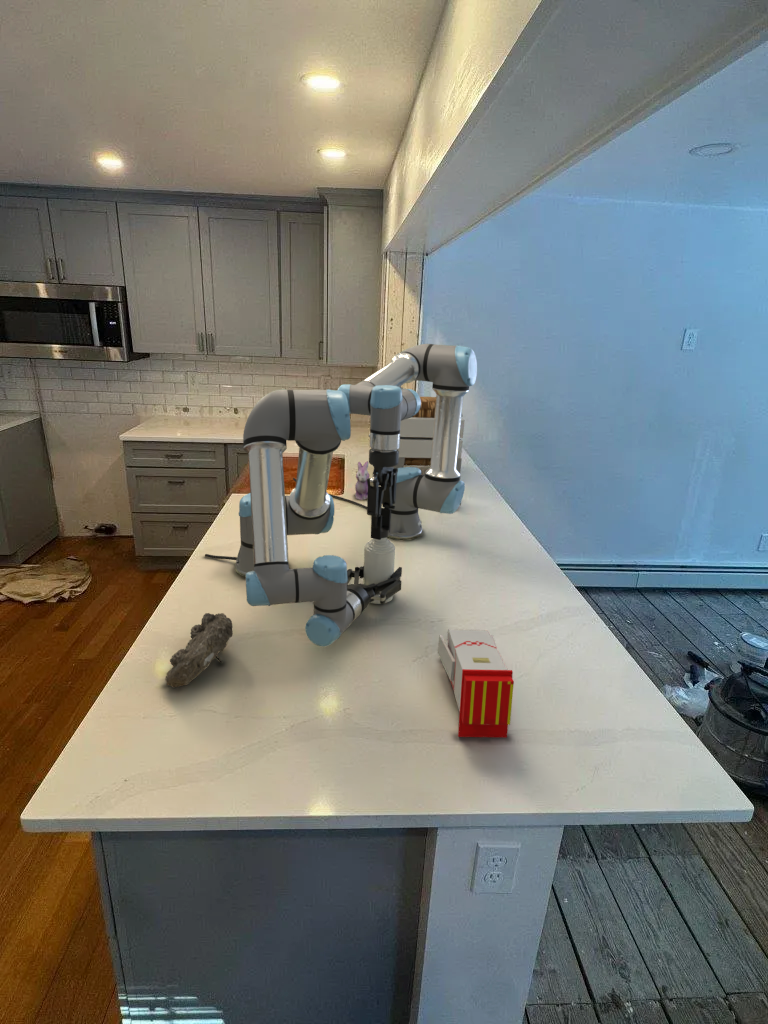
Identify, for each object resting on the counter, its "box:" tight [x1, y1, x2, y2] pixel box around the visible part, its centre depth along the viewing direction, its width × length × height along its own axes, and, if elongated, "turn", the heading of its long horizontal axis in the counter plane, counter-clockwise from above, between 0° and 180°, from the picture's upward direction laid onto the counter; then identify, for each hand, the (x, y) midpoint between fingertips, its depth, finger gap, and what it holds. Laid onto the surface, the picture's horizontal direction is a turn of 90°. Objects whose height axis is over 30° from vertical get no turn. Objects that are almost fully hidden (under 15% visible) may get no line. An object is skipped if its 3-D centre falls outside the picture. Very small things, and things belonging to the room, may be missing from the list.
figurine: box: [354, 460, 370, 501], centre depth 234 cm, size 9×10×15 cm
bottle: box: [362, 537, 396, 605], centre depth 153 cm, size 8×8×20 cm
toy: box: [437, 628, 515, 738], centre depth 117 cm, size 12×13×30 cm
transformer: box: [393, 386, 465, 475], centre depth 268 cm, size 34×33×41 cm
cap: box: [381, 526, 389, 538], centre depth 149 cm, size 4×4×2 cm
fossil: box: [165, 612, 234, 688], centre depth 123 cm, size 22×10×15 cm
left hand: (385, 568), depth 158 cm, fingers closed on bottle, 8 cm apart
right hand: (380, 534), depth 150 cm, fingers open, 5 cm apart
